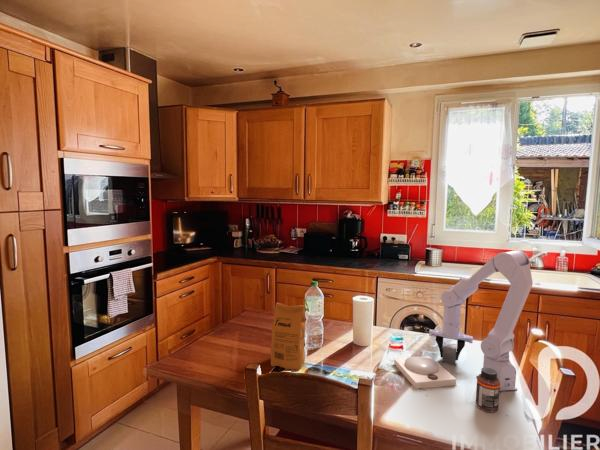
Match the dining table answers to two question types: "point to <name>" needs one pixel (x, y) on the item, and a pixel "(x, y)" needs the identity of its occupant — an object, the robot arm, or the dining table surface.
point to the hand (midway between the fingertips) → (449, 357)
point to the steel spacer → (449, 353)
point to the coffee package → (288, 337)
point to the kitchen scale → (424, 372)
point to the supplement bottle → (488, 390)
